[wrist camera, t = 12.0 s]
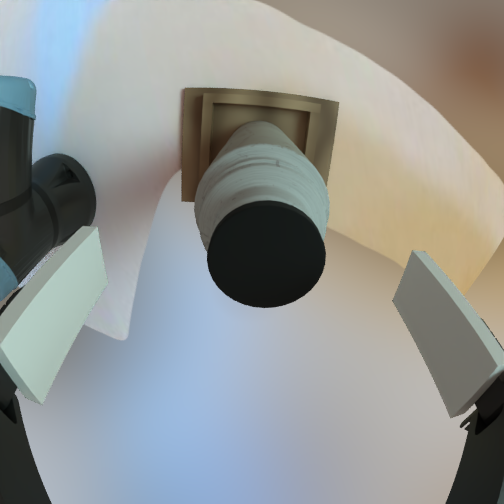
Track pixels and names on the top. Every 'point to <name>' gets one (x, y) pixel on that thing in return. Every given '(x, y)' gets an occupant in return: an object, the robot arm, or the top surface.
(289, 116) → the brown wooden tray
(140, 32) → the top surface
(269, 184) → the thermos bottle
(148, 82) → the top surface
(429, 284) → the robot arm
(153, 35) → the top surface
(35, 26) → the top surface
